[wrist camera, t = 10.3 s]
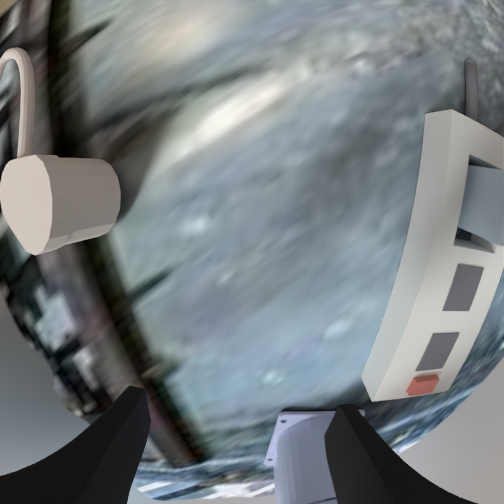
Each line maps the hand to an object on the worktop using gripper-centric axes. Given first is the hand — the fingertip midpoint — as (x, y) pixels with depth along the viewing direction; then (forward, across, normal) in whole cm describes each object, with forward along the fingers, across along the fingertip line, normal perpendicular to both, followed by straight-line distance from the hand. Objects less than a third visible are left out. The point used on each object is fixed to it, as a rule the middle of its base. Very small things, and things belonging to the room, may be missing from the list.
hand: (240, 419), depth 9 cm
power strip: (+9, -14, -7) cm, 18 cm away
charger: (+10, -14, -9) cm, 19 cm away
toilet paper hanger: (+10, +16, -7) cm, 20 cm away
